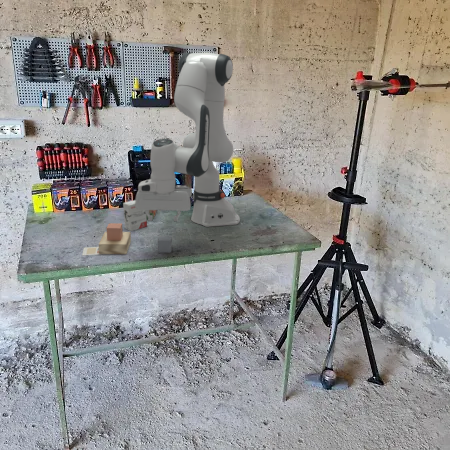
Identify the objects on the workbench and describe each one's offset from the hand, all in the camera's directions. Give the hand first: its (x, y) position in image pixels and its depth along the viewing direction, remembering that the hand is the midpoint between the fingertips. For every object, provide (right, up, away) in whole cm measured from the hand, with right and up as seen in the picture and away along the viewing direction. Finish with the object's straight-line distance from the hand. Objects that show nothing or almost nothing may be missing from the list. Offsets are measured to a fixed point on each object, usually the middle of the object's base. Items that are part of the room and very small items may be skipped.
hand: (163, 220), depth 155 cm
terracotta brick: (-19, -6, +4) cm, 20 cm away
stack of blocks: (-13, +5, +45) cm, 47 cm away
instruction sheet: (-26, -11, +2) cm, 28 cm away
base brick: (-19, -10, +5) cm, 22 cm away
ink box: (-16, -3, +25) cm, 30 cm away
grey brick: (0, -11, +5) cm, 12 cm away
